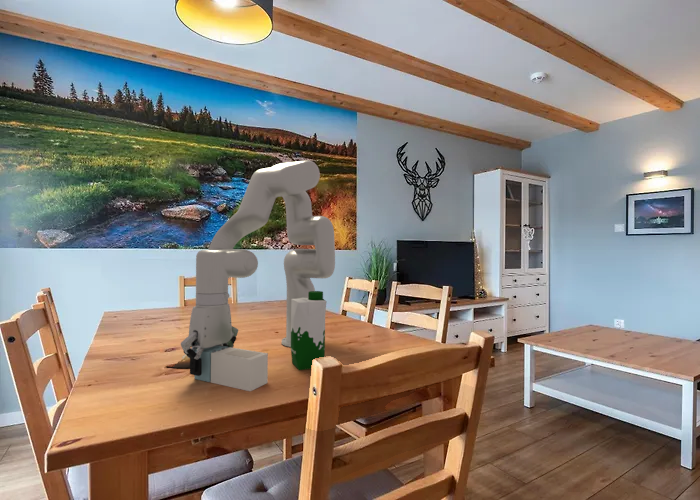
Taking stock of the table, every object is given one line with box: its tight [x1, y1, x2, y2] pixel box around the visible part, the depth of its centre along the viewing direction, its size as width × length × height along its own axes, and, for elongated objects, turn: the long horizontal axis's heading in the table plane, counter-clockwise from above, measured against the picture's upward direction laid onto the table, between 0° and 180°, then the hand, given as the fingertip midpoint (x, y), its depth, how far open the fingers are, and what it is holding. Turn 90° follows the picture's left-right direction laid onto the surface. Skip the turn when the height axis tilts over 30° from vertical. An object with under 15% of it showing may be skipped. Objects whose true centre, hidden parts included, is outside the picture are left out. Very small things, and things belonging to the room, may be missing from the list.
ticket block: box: [210, 347, 269, 392], centre depth 89 cm, size 6×12×7 cm, turn 64°
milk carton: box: [290, 290, 327, 371], centre depth 103 cm, size 9×9×20 cm
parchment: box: [166, 345, 222, 370], centre depth 111 cm, size 25×10×1 cm, turn 0°
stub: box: [193, 345, 227, 383], centre depth 93 cm, size 6×5×7 cm
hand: (211, 368), depth 93 cm, fingers open, 9 cm apart
